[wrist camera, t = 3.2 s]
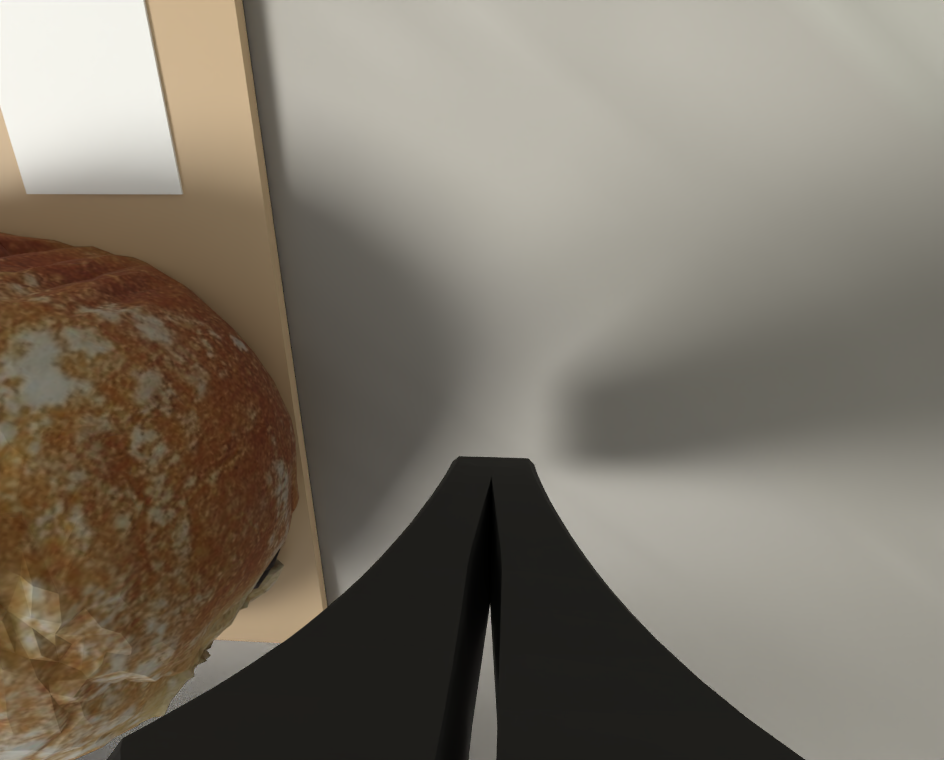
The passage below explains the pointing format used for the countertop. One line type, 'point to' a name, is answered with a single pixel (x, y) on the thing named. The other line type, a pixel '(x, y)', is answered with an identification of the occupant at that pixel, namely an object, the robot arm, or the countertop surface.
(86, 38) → the envelope
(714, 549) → the countertop surface
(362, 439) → the countertop surface
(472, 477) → the robot arm
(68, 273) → the bread roll
